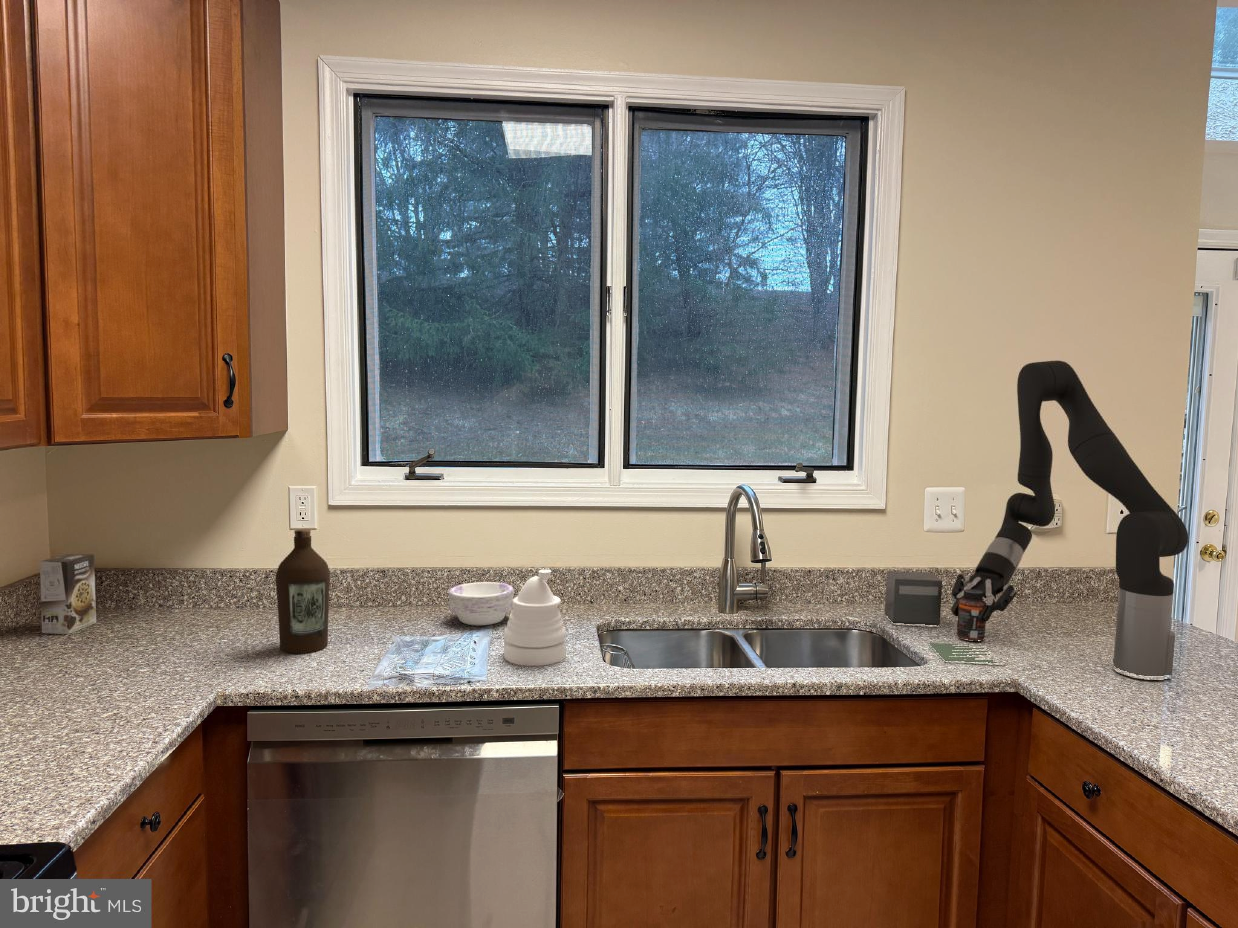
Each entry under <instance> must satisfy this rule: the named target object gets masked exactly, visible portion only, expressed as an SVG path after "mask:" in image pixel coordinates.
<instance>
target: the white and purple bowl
mask: <svg viewBox="0 0 1238 928" xmlns="http://www.w3.org/2000/svg"><path fill="white" fill-rule="evenodd" d="M448 591H449V592H448V600H449V602H448V604H449V605H448V606H449V611H450V612H451V613H453V614H454V615H455V614H456V616H457V618H458V619H459V621H460V622H462V623H463V624H465V625H470V626H477V627H478V626H479V627H480V626H491V625H495V624H498V623H500V622H502V621H503V620H504V618H505V616H506V613H507V612H510V611H512V610H513V607H514V605H513V599H514V598H515V597H514V593H515V591H514V588H513V586H512V585H510V584H507V583H503V582H494V581H483V582H482V581H480V582H479V581H478V582H470V583H469V582H468V583H463V584H459V585H455V586H454V587H453V586H452V587H451V588H450V589H449V590H448Z"/></svg>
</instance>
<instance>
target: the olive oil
mask: <svg viewBox="0 0 1238 928" xmlns="http://www.w3.org/2000/svg"><path fill="white" fill-rule="evenodd" d="M311 531H312V530H311V529H309V528H299V529H295V530H294V532H293V533H294V537H293V545H294V547H293V549H292V550H291V551H290V553H289V554H287V556H285V558H284V559H283V560H282V561H281V562H280V564H279V565H278V566H277V570H276V573H275V587H276V588H275V589H276V590H275V591H276V600H277V601H276V602H277V615H278V632H279V634H278V636H279V649H280V651H281V652H283V653H287V654H296V655H297V654H299V655H300V654H301V655H302V654H310V653H316V652H318V651H322V650H323V649H325V648H327V646H328V643H329V635H328V634H329V611H330V610H329V608H330V587H331V585H330V583H331V573H330V572H331V571H330V569H329V564H328V563H327V562H326V560H325V559H324V558H323V557H322V556H320V554H319V553H317V552H316V551H315V550H314V548H313V547H312V535H311V533H312V532H311Z"/></svg>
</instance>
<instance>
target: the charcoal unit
mask: <svg viewBox="0 0 1238 928" xmlns="http://www.w3.org/2000/svg"><path fill="white" fill-rule="evenodd" d="M885 580H886V581H885V596H884V597H885V600H884V601H885V602H884V616H885V615H886V616H888V618H889V619H890V620H891V621H892V622H893V623H904V624H925V625H937V626H938V625H939V626H940V627H941V612H942V611H941V610H942V595H943V594H942V592H943V580H942V579H941V578H939V577H938V576H937V575H936V574H935V573H933V572H928V571H927V572H922V571H900V570H898V571H897V570H886V579H885Z"/></svg>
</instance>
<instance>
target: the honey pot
mask: <svg viewBox="0 0 1238 928" xmlns="http://www.w3.org/2000/svg"><path fill="white" fill-rule="evenodd" d="M551 574H552V570H550V569H540V570H538V576H537V575H536V576H532V577H530V578H529V579H528V580H527V581H526V582H525V583H524V584H523V586H522V588H521V589H520V591H519V593H518V595H517V596H516V597H513V598H514V599H513V608H512V609H511V613H510V614H509V616H508V617H509V618H508V621H507V625H506V627H505V629H504V633H503V634H504V635H503V637H504V638H503V640H504V641H503V652H504V653H503V658H504V659H505V660H506V661H507V662H509V663H512V664H514V665H519V666H527V667H532V666H533V667H538V666H539V667H540V666H548V665H552V664H557V663H559V662H561V661H564V660H565V659H566V657H567V632H566V628H565V626H564V621H563V619H562V613H560V611H559V608H558V606H560V605H561V603H562V602H561V601H562V600H561V598H560V597H558V596H557V595H554V594H553V592H552V590H551V589H550V586H549V585H548V584H547V582H546V581H548V580H549V579H550V578H551V576H552V575H551Z"/></svg>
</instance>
